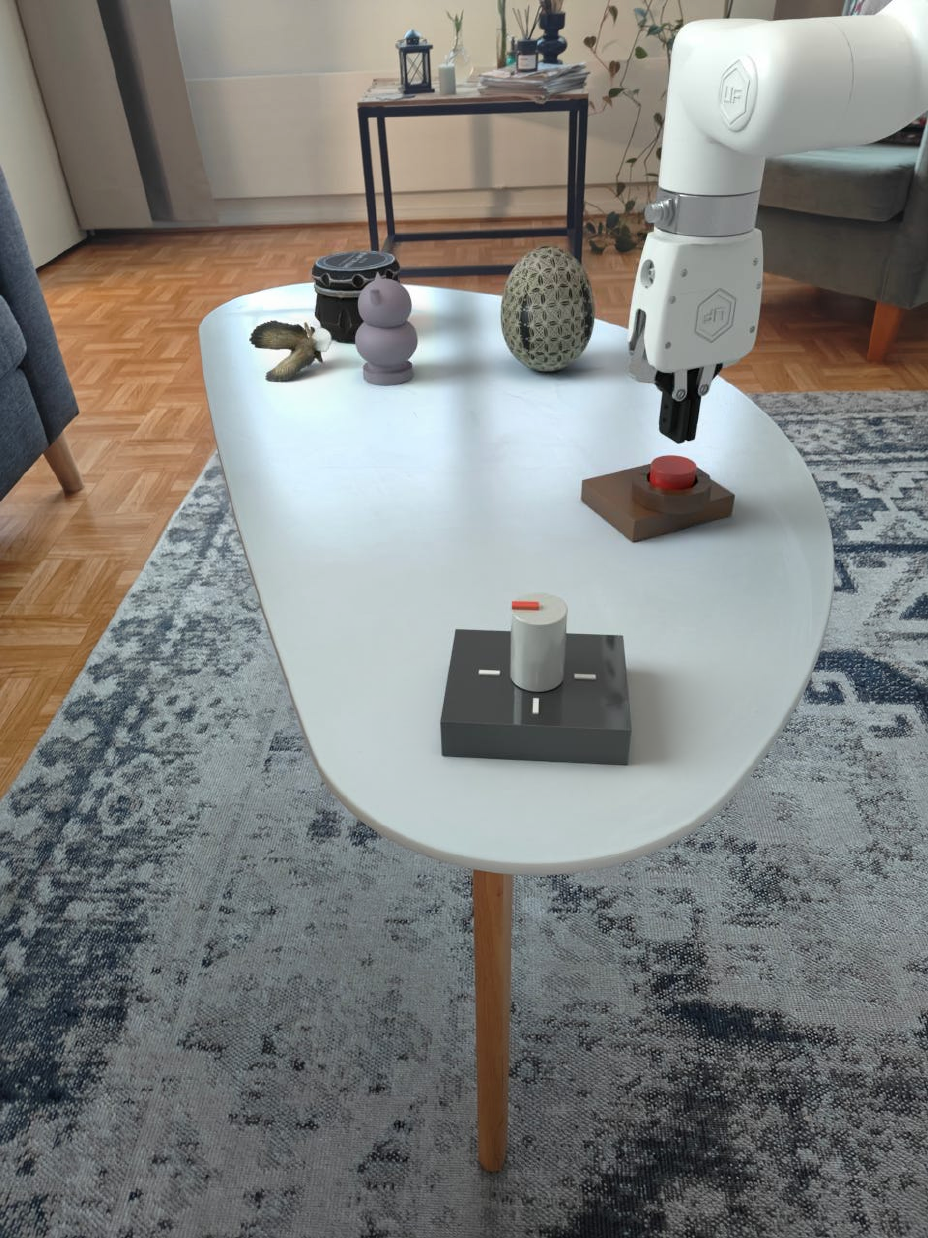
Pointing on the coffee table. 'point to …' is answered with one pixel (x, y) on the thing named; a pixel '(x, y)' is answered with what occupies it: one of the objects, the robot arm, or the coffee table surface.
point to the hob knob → (538, 641)
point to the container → (347, 288)
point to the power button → (673, 472)
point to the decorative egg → (547, 309)
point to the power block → (654, 502)
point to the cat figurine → (386, 332)
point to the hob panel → (537, 703)
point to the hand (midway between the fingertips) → (676, 436)
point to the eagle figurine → (291, 346)
